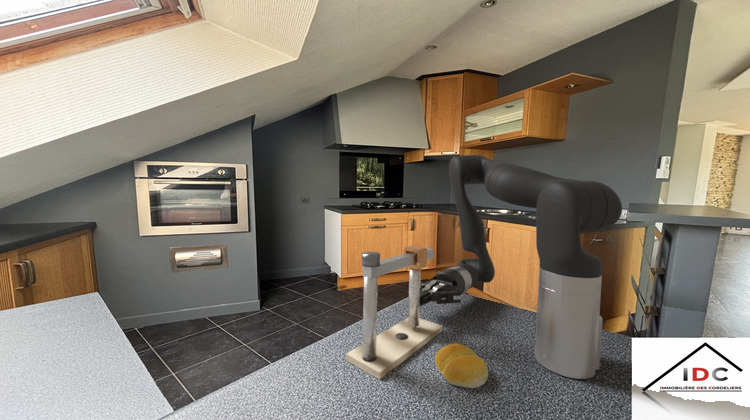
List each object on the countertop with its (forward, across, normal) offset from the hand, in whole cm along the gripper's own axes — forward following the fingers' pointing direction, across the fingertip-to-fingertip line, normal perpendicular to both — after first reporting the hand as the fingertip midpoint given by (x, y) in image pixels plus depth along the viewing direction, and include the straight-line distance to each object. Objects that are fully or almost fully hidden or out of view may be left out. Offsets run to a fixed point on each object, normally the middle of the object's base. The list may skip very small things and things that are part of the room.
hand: (417, 301), depth 62 cm
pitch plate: (+8, 0, +7) cm, 10 cm away
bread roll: (+7, +13, +8) cm, 16 cm away
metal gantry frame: (+6, 0, +6) cm, 9 cm away
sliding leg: (+1, 0, +5) cm, 6 cm away
